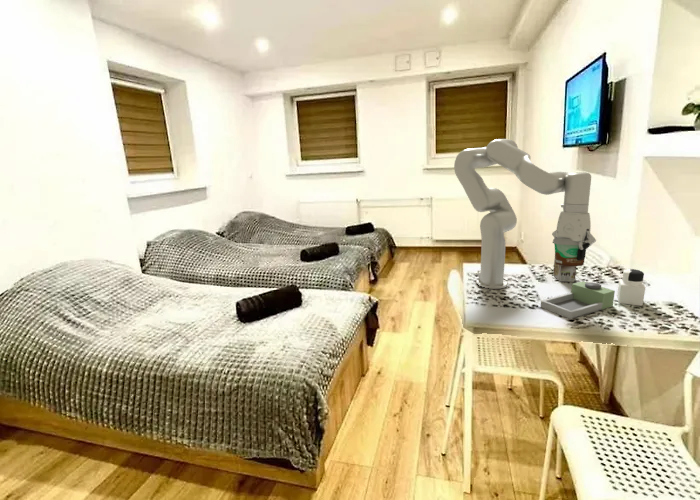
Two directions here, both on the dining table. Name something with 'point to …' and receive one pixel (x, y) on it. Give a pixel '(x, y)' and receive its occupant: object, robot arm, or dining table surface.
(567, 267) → the coffee box
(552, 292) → the dining table surface
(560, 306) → the shallow rimmed tray
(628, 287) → the medicine bottle
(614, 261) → the dining table surface
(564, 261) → the food container
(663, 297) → the dining table surface
